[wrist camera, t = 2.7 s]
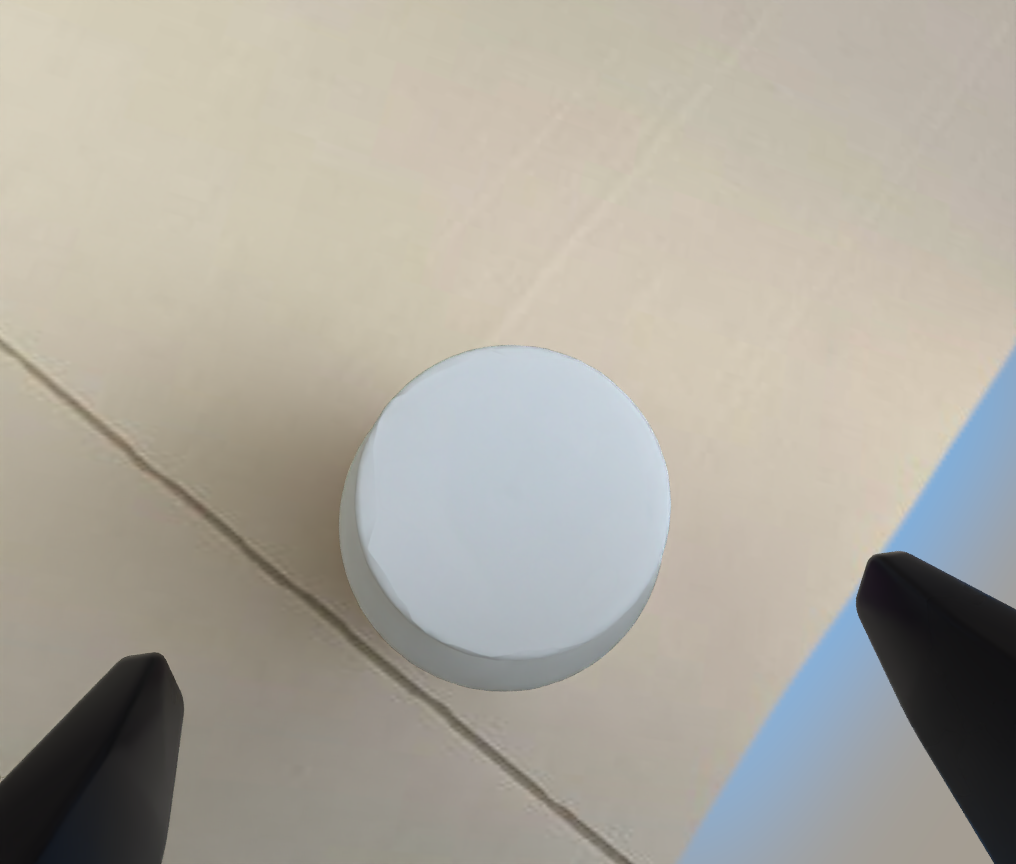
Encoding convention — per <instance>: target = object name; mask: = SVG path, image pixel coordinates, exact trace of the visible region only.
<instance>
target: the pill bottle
mask: <svg viewBox="0 0 1016 864" xmlns="http://www.w3.org/2000/svg"><path fill="white" fill-rule="evenodd" d="M670 512H671V498H670V485H669V477H668V471H667V467H666V463H665V460H664V457H663V454H662V451H661V449H660V446H659V443H658V440H657V438H656V436H655V434H654V433H653V431H652V429H651V427H650V425H649V423H648V422H647V420H646V419H645V417H644V416H643V414H642V413H641V411H640V410H639V409H638V407H637V406H636V405H635V404H634V403H633V401H632V400H631V399H630V398H629V397H628V396H627V395H626V394H625V393H624V392H623V391H622V390H621V389H620V388H619V387H618V386H617V385H615V383H614V382H613V381H611V380H610V379H609V378H607V377H606V376H605V375H603V374H602V373H601V372H599V371H598V370H596V369H594V368H592V367H591V366H589V365H587V364H585V363H583V362H582V361H580V360H577V359H575V358H573V357H571V356H568V355H565V354H562V353H559V352H555V351H552V350H549V349H545V348H540V347H534V346H519V345H500V346H491V347H483V348H479V349H474V350H470V351H466V352H463V353H460V354H458V355H455V356H452V357H450V358H447V359H445V360H443V361H441V362H439V363H437V364H435V365H433V366H432V367H430V368H428V369H427V370H425V371H424V372H422V373H421V374H419V375H418V376H417V377H415V378H414V379H413V380H411V381H410V382H409V383H408V384H407V385H406V386H405V387H404V388H403V389H402V390H401V391H400V392H399V393H398V394H397V395H396V396H395V397H394V398H393V399H392V400H391V401H390V402H389V403H388V404H387V406H386V407H385V408H384V409H383V411H382V413H381V414H380V416H379V417H378V419H377V421H376V422H375V424H374V426H373V427H372V429H371V430H370V431H369V432H368V434H367V435H366V437H365V439H364V440H363V442H362V443H361V445H360V447H359V448H358V450H357V453H356V455H355V457H354V459H353V461H352V464H351V466H350V469H349V471H348V474H347V477H346V481H345V485H344V489H343V493H342V498H341V504H340V516H339V538H340V548H341V554H342V559H343V564H344V568H345V571H346V575H347V578H348V581H349V584H350V587H351V590H352V592H353V594H354V596H355V598H356V600H357V602H358V604H359V606H360V608H361V609H362V611H363V613H364V614H365V616H366V617H367V619H368V620H369V622H370V623H371V624H372V626H373V627H374V628H375V629H376V631H377V632H378V633H379V634H380V635H381V636H382V638H383V639H384V640H385V641H386V642H387V643H388V644H389V645H390V646H391V647H392V648H393V649H394V650H396V651H397V652H398V653H399V654H401V655H402V656H403V657H404V658H405V659H407V660H408V661H409V662H411V663H412V664H414V665H416V666H417V667H419V668H421V669H422V670H424V671H426V672H428V673H430V674H432V675H434V676H436V677H438V678H440V679H443V680H445V681H448V682H451V683H454V684H457V685H461V686H464V687H468V688H472V689H479V690H486V691H522V690H530V689H535V688H539V687H542V686H546V685H549V684H552V683H555V682H558V681H561V680H564V679H566V678H568V677H570V676H573V675H575V674H577V673H579V672H580V671H582V670H584V669H585V668H587V667H589V666H591V665H592V664H594V663H595V662H596V661H598V660H599V659H600V658H602V657H603V656H604V655H605V654H606V653H608V652H609V651H610V650H611V649H612V648H613V647H614V646H615V645H616V644H617V643H618V642H619V641H620V640H621V639H622V638H623V637H624V636H625V635H626V634H627V632H628V631H629V630H630V628H631V627H632V626H633V624H634V623H635V622H636V620H637V619H638V617H639V615H640V614H641V612H642V610H643V609H644V607H645V605H646V603H647V601H648V599H649V597H650V595H651V592H652V590H653V587H654V585H655V582H656V579H657V576H658V572H659V569H660V565H661V559H662V555H663V552H664V548H665V545H666V541H667V536H668V532H669V524H670Z"/></svg>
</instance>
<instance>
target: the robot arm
mask: <svg viewBox="0 0 1016 864" xmlns="http://www.w3.org/2000/svg"><path fill="white" fill-rule="evenodd" d="M856 608H857V613H858V616H859V618H860V620H861V623H862V624H863V627H864V629H865V631H866V633H867V635H868V637H869V639H870V641H871V644H872V646H873V648H874V650H875V652H876V654H877V656H878V658H879V660H880V663H881V665H882V667H883V669H884V671H885V673H886V675H887V677H888V679H889V681H890V684H891V686H892V688H893V690H894V692H895V694H896V696H897V698H898V700H899V702H900V704H901V707H902V708H903V710H904V712H905V714H906V716H907V718H908V720H909V722H910V724H911V726H912V727H913V729H914V731H915V733H916V734H917V736H918V738H919V740H920V741H921V743H922V745H923V746H924V748H925V750H926V751H927V753H928V755H929V756H930V758H931V760H932V761H933V763H934V765H935V766H936V768H937V769H938V771H939V773H940V775H941V776H942V778H943V779H944V781H945V782H946V784H947V786H948V788H949V789H950V791H951V793H952V794H953V796H954V798H955V799H956V801H957V802H958V804H959V806H960V808H961V809H962V811H963V813H964V814H965V816H966V818H967V819H968V821H969V823H970V824H971V826H972V828H973V829H974V831H975V833H976V834H977V836H978V837H979V839H980V841H981V842H982V844H983V846H984V847H985V849H986V851H987V852H988V854H989V856H990V857H991V859H992V861H993V862H994V864H1016V609H1014V608H1012V607H1010V606H1008V605H1006V604H1004V603H1003V602H1001V601H999V600H997V599H995V598H993V597H991V596H989V595H987V594H985V593H983V592H982V591H980V590H978V589H976V588H974V587H972V586H970V585H968V584H966V583H964V582H962V581H961V580H959V579H957V578H955V577H953V576H951V575H949V574H947V573H945V572H944V571H942V570H940V569H938V568H936V567H934V566H932V565H930V564H928V563H926V562H925V561H922V560H921V559H919V558H917V557H915V556H913V555H911V554H909V553H907V552H902V551H896V552H888V553H881V554H875V555H873V556H872V557H871V558H870V559H869V560H868V562H867V565H866V568H865V571H864V574H863V578H862V581H861V584H860V587H859V590H858V594H857V597H856ZM183 716H184V702H183V697H182V694H181V691H180V689H179V687H178V685H177V683H176V680H175V678H174V676H173V674H172V672H171V670H170V667H169V665H168V663H167V661H166V659H165V658H164V656H163V655H161V654H160V653H156V652H153V653H146V654H138V655H131V656H127V657H124V658H123V659H121V660H120V661H119V662H117V663H116V664H115V665H114V666H113V667H112V668H111V669H110V670H109V671H108V673H107V674H106V675H105V676H104V677H103V678H102V679H101V680H100V681H99V682H98V683H97V684H96V685H95V686H94V687H93V688H92V689H91V690H90V691H89V692H88V693H87V694H86V695H85V696H84V697H83V698H82V699H81V700H80V701H79V702H78V703H77V704H76V705H75V706H74V707H73V709H72V710H71V711H70V712H69V713H68V714H67V715H66V716H65V717H64V718H63V719H62V720H61V721H60V722H59V723H58V724H57V725H56V726H55V727H54V728H53V729H52V730H51V731H50V732H49V733H48V734H47V735H46V736H45V737H44V738H43V739H42V740H41V741H40V742H39V743H38V744H37V746H36V747H35V748H34V749H33V750H32V751H31V752H30V753H29V754H28V755H27V756H26V757H25V758H24V759H23V760H22V761H21V762H20V763H19V764H18V765H17V766H16V767H15V768H14V769H13V770H12V771H11V772H10V773H9V774H8V775H7V776H6V777H5V778H4V779H3V780H2V781H1V783H0V864H161V863H162V859H163V854H164V850H165V845H166V840H167V833H168V827H169V821H170V813H171V806H172V798H173V791H174V783H175V776H176V768H177V761H178V753H179V746H180V738H181V731H182V723H183Z"/></svg>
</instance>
